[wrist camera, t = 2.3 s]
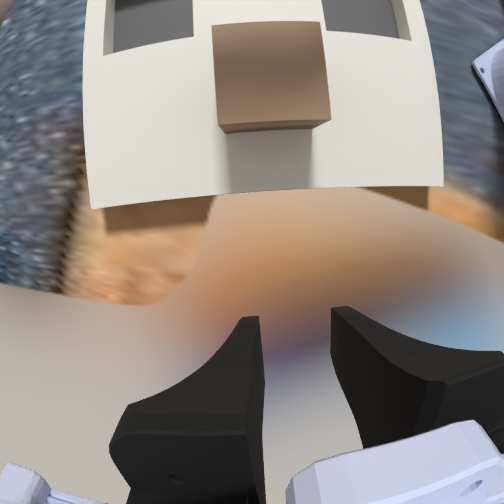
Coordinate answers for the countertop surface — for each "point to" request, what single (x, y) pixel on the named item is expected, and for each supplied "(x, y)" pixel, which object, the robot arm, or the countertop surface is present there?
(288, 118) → the walnut block
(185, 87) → the board
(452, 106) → the countertop surface
